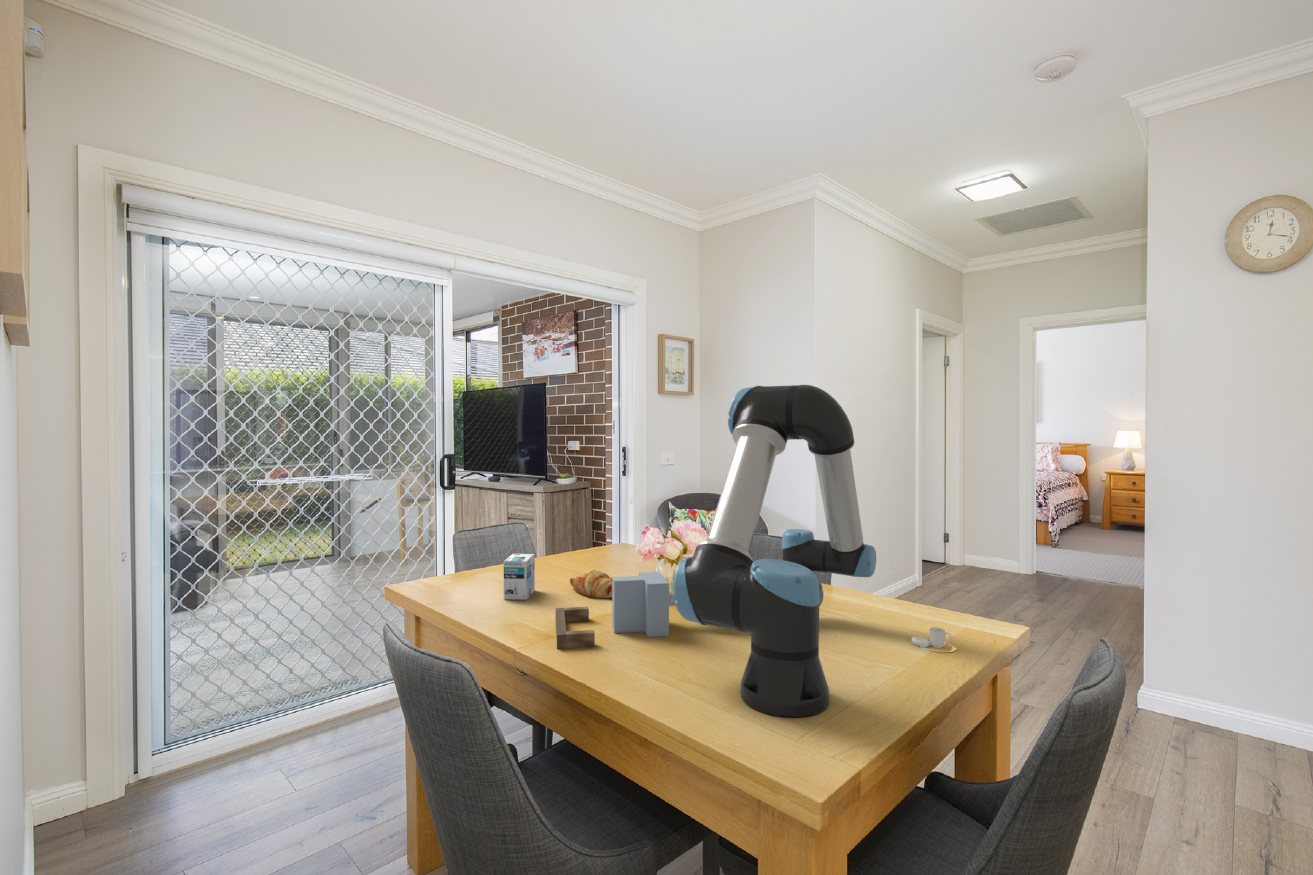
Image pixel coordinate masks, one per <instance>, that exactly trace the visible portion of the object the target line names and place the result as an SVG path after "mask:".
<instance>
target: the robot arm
mask: <svg viewBox="0 0 1313 875" xmlns="http://www.w3.org/2000/svg"><path fill="white" fill-rule="evenodd" d="M729 404H730V405H729V408H728V412H727V413H728V414H727V415H728V418H727V425H728V430H729V432H730V434H731V435H732V440H733V441H734V443H735V448H734V451H733V454H732V458H731V460H730V464H729V468H728V470H727V473H726V477H725V480H724V483H723V487H722V490H721V493H720V496H719V499H718V502H717V506H716V508H715V509H716V510H715V512H714V514H713V517H712V518H713V519H712V520H711V521H712V522H711V524H710V527H709V531H708V535H707V538H706V540H704V541H702V542H700V543H698V544H697V545H696V547H695V550H694V553H693V556H692V557H690V556H688V557H685V558H683V559H681V561H679V562H678V564H677V566H676V567H675V571H674V574H673V581H672V592H669V607H672V606H676V607H675V608H676V610H677V611H678V614H679V615H680V616H681V617H682V618H683V619H685V620H686V621H689V622H693V623H697V624H699V625H701V626H711V627H717V628H722V629H726V630H731V631H738V632H743V633H747V634H750V639H751V640H750V641H751V642H750V654H749V656H748V659H747V663H746V665H745V668H744V671H743V674H742V676H741V681H740V698H741V700H742V701H743V702H744V703H745V704H746V705H747V706H748V707H751V708H752V709H754V710H756V711H759V712H760V713H761V712H762V713H765V714H768V715H772V716H778V717H785V718H802V717H808V716H809V717H810V716H814V715H817V714H820V713H822V712H823V711H825V710H826V709H827V708H828V706H829V704H830V690H829V684H828V682H827V679H826V675H825V672H824V670H823V665H822V663H821V659H820V654H819V653H820V650H819V648H820V606H821V605H822V604H823V602H824V590H823V584H822V582H821V580H820V579H819V578H818V576H817V574H816V573H815V572H819V573H827V574H835V575H841V576H850V577H853V578H855V577H856V578H872V576H873V575H874V573H875V570H876V567H877V551H876V549H875V547H874V546H873V545H870V544H867V543H864V537H863V536H864V535H863V529H862V522H861V515H860V508H859V502H858V501H859V500H858V495H857V487H856V479H855V474H854V466H853V460H852V459H853V457H852V451H851V449H852V448H853V447H854V445H855V438H854V436H855V435H854V431H853V427H852V424H851V421H850V418H849V417H848V415H847V413H846V412H845V410H844V409H843V407H842V406H841V405H840V403H839V402H838V401H837V400H836V399H835V398H834V397H833V396H832V395H831V394H829V392H827V391H826V390H823V389H822V388H820V387H817V386H814V385H811V384H799V385H797V384H796V385H793V384H792V385H769V386H763V385H755V386H749V387H744V388H741V389H740V390H738V391H737V392H736V393H735V395H734V396H733V397H732V399H731V401H730V403H729ZM789 440H804V441H806V443H807V447H808V451H809V452H810V453H811V454H812V455H814V460H815V465H816V472H817V478H818V482H819V488H820V494H821V499H822V504H823V505H822V506H823V510H824V515H825V516H824V517H825V521H826V522H825V523H826V527H827V528H826V529H827V532H828V538H829V541H828V540H823V539H822V540H821V539H815V537H814V533H813V532H812V531H811V530H808V529H803V528H801V529H800V528H799V529H798V528H791V529H786V530H785V531H784V532H783V533H782V538H781V539H782V540H781V548H780V549H781V559H778V558H777V559H772V558H759V559H756V560H754V559H753V557H752V556H751V554H750V551H751V547H752V546H753V545H752V543H753V540H754V537H755V534H756V529H757V525H758V522H759V519H760V514H761V511H762V507H763V504H764V500H765V496H766V493H767V488H768V485H769V481H770V478H771V474H772V471H773V467H774V464H775V459H776V456H778V455H781V454H783V453H784V451H785V449H786V447H787V443H788V441H789Z"/></svg>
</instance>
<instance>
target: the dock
mask: <svg viewBox="0 0 1313 875" xmlns="http://www.w3.org/2000/svg"><path fill="white" fill-rule="evenodd" d="M589 610H590V609H589V606H577V607H576V606H575V607H574V606H573V607H571V606H570V607H555V613H554V614H555V616H554V618H555V620H554V621H555V637H556V648H557V650H562V649H564V650H565V649H576V648H577V649H578V648H580V649H581V648H582V649H583V648H594V647H596V646H595V644H596V642H595V641H596V640H595V635H596V634H595V630H594V629H588V630H587V629H585V630H571V631H570V630H569V631H567V627H566V623H578V622H579V623H580V622H581V623H582V622H589V621H590V620H589V619H590V617H589V616H590V615H589V614H590V611H589Z"/></svg>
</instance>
